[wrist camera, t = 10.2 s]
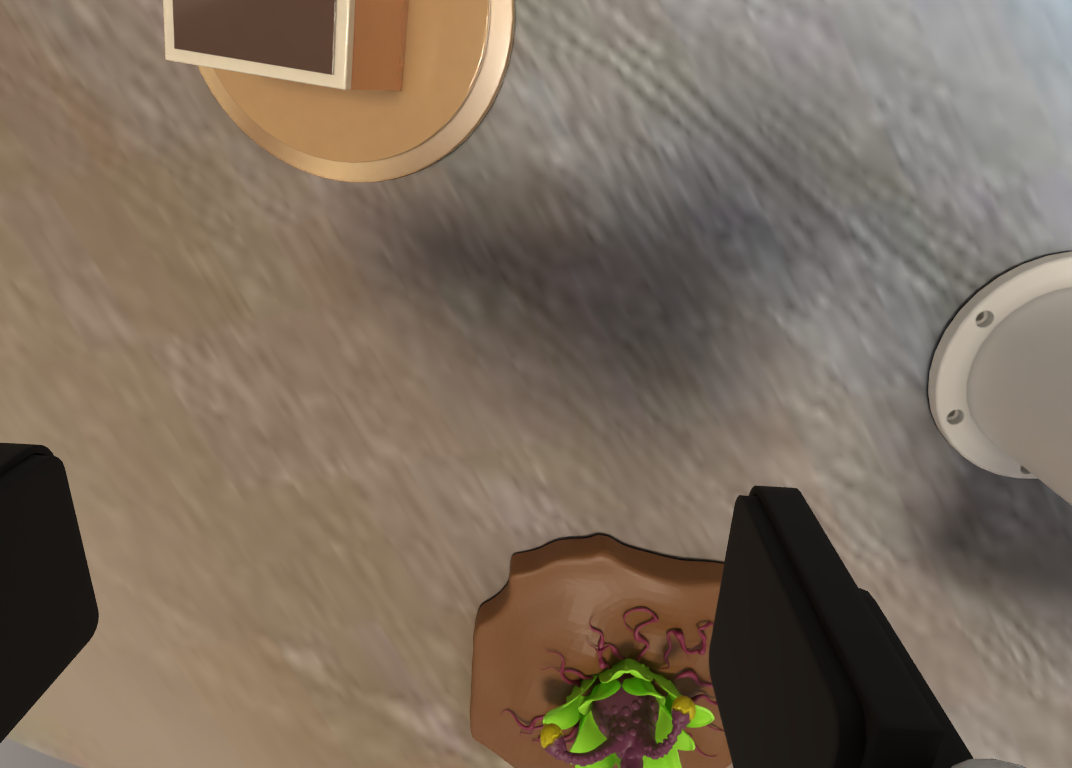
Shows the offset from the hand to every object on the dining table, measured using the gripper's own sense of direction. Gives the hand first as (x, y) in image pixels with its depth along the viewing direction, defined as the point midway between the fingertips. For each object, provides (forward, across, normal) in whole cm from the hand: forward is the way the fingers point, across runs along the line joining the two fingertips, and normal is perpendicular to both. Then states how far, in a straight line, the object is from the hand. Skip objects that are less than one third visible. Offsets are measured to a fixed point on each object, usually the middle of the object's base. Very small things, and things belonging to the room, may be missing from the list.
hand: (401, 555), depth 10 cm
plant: (+28, -8, +29) cm, 41 cm away
